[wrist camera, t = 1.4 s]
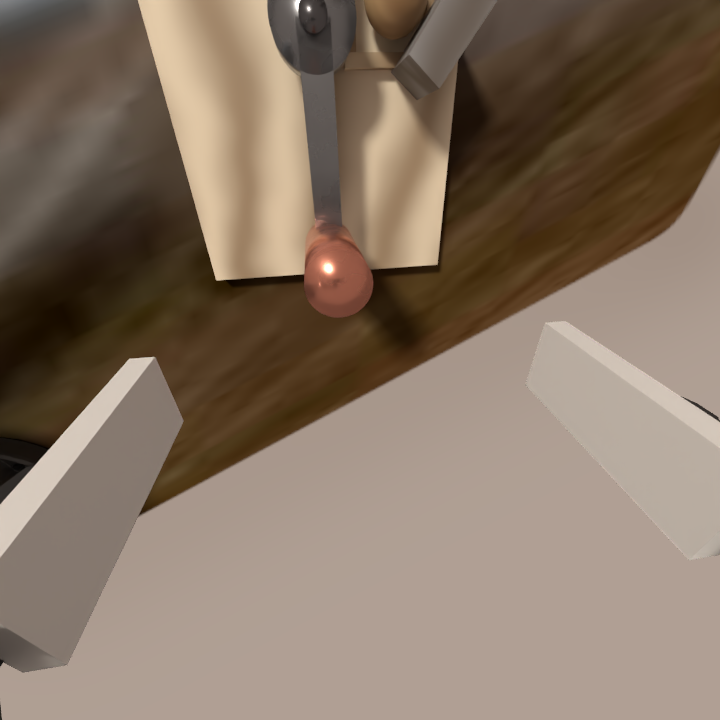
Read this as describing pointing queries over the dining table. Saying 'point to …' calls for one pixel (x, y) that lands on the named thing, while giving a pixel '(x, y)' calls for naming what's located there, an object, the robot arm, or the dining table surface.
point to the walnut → (394, 16)
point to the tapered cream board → (289, 139)
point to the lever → (323, 146)
